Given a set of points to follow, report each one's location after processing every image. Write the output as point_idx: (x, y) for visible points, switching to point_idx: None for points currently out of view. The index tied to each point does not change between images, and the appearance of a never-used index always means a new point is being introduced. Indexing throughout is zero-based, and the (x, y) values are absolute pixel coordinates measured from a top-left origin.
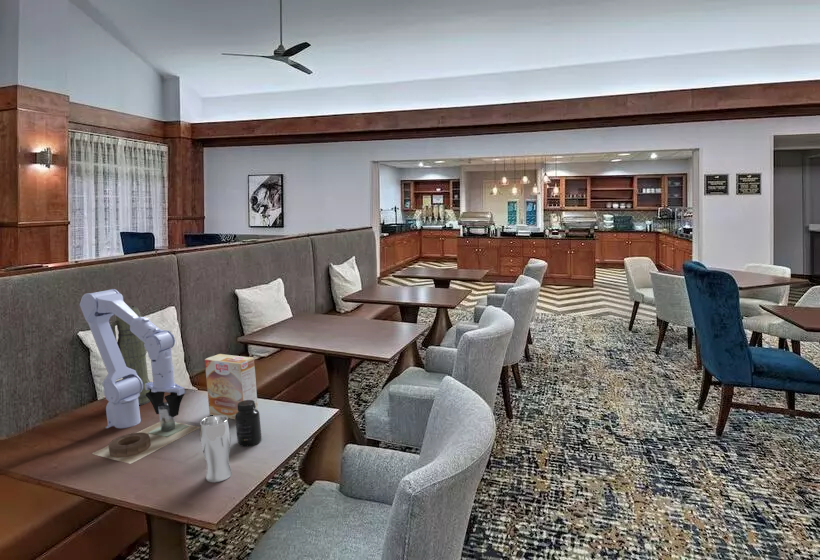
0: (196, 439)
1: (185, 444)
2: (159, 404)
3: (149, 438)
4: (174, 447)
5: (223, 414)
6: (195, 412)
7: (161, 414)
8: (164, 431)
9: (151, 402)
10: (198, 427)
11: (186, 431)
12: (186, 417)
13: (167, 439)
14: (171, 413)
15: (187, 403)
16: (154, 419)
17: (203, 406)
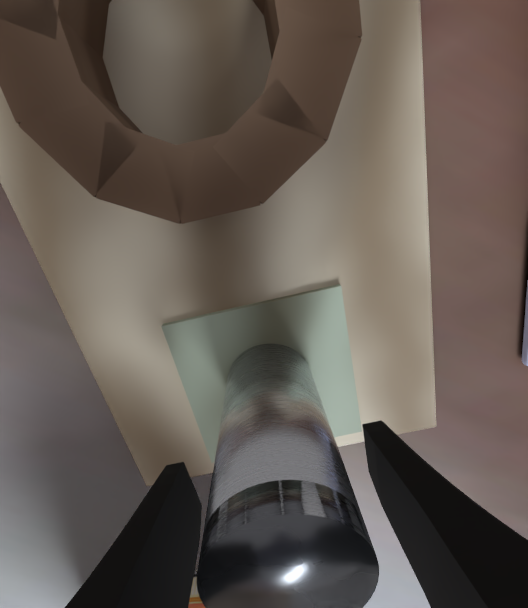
0: (52, 410)
1: (29, 349)
2: (358, 547)
3: (92, 190)
4: (34, 294)
5: (198, 595)
6: (387, 539)
7: (251, 436)
8: (248, 350)
9: (498, 531)
10: (153, 478)
11: (154, 423)
12: (374, 496)
13: (128, 310)
14: (147, 496)
15: None
16: (522, 404)
17: (413, 580)
